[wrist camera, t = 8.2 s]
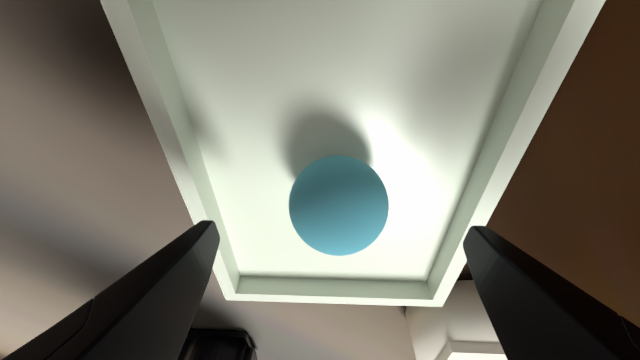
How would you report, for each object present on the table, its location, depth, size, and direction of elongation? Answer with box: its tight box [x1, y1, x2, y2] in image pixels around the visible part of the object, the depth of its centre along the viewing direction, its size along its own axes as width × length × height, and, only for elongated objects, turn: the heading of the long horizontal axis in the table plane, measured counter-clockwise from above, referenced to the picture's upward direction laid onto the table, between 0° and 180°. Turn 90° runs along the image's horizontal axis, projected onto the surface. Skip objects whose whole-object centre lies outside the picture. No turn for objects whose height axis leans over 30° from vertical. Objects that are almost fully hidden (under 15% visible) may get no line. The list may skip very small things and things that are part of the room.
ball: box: [289, 155, 389, 256], centre depth 10 cm, size 4×4×4 cm
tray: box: [100, 0, 605, 307], centre depth 11 cm, size 14×18×2 cm
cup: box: [405, 280, 507, 360], centre depth 18 cm, size 8×8×4 cm
